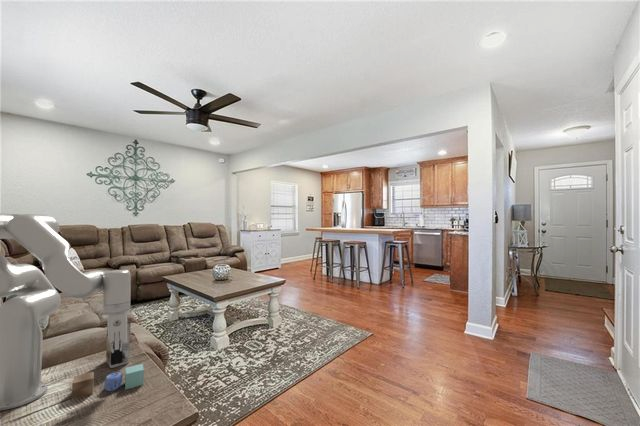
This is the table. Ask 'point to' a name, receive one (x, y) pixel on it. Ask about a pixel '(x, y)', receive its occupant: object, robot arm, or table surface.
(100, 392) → the table surface
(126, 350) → the coffee box
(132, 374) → the teal block
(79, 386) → the walnut block
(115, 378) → the decorative dice
